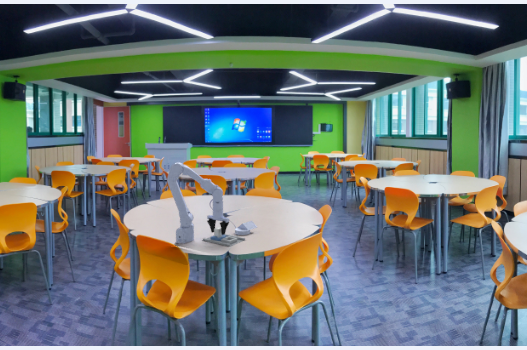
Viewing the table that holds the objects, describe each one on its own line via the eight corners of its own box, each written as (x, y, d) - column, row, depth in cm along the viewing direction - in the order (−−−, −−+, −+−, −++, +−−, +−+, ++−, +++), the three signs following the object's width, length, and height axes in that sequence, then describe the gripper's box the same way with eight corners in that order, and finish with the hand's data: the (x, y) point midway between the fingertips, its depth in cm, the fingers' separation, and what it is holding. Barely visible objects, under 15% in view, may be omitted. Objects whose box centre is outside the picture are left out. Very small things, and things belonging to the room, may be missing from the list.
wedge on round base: (246, 230, 213) (231, 234, 203) (246, 219, 213) (231, 223, 203) (257, 232, 208) (243, 237, 198) (257, 221, 207) (243, 226, 197)
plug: (218, 240, 190) (218, 229, 189) (214, 239, 192) (214, 228, 191) (222, 238, 193) (222, 228, 192) (218, 237, 194) (218, 227, 194)
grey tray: (229, 248, 179) (229, 242, 178) (201, 241, 190) (201, 236, 190) (246, 241, 190) (246, 236, 190) (218, 235, 201) (218, 230, 201)
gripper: (232, 209, 189) (232, 233, 191) (213, 206, 198) (213, 229, 199) (224, 211, 184) (224, 236, 185) (204, 208, 192) (204, 232, 193)
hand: (218, 233), depth 192 cm, fingers open, 7 cm apart
